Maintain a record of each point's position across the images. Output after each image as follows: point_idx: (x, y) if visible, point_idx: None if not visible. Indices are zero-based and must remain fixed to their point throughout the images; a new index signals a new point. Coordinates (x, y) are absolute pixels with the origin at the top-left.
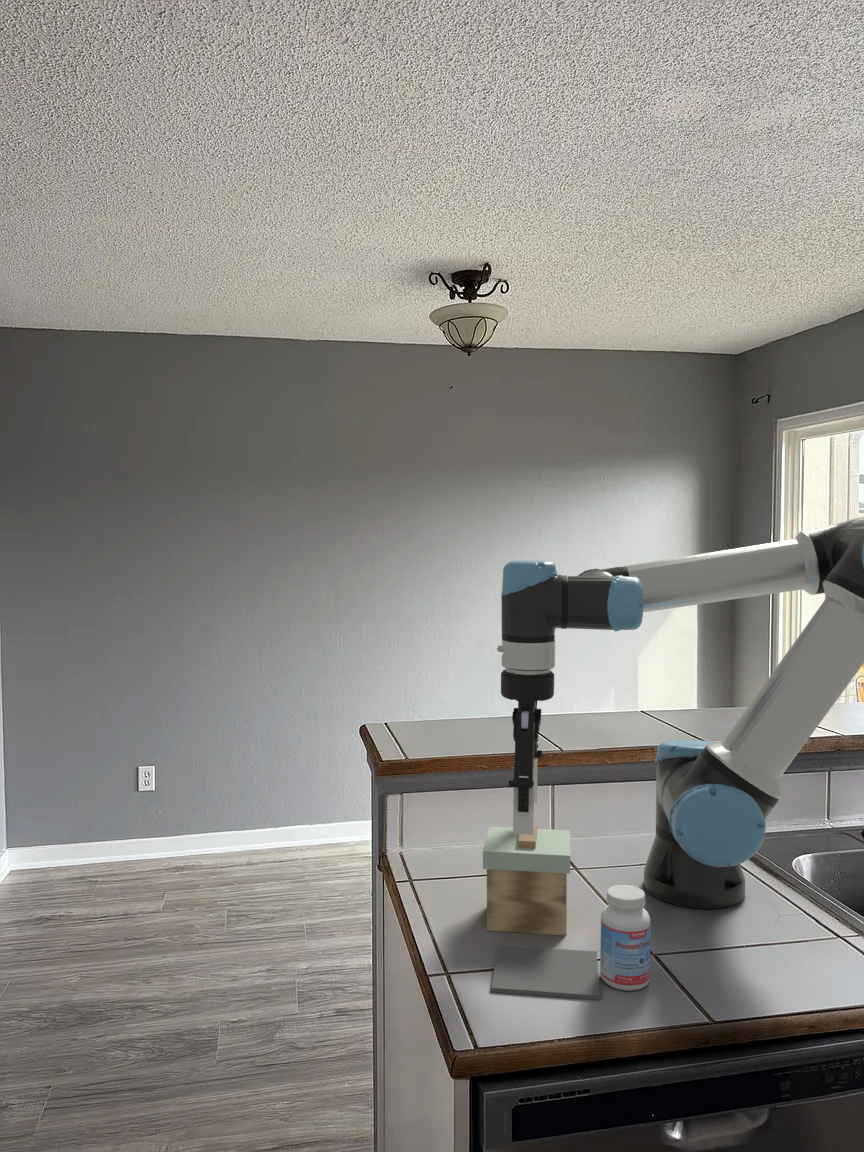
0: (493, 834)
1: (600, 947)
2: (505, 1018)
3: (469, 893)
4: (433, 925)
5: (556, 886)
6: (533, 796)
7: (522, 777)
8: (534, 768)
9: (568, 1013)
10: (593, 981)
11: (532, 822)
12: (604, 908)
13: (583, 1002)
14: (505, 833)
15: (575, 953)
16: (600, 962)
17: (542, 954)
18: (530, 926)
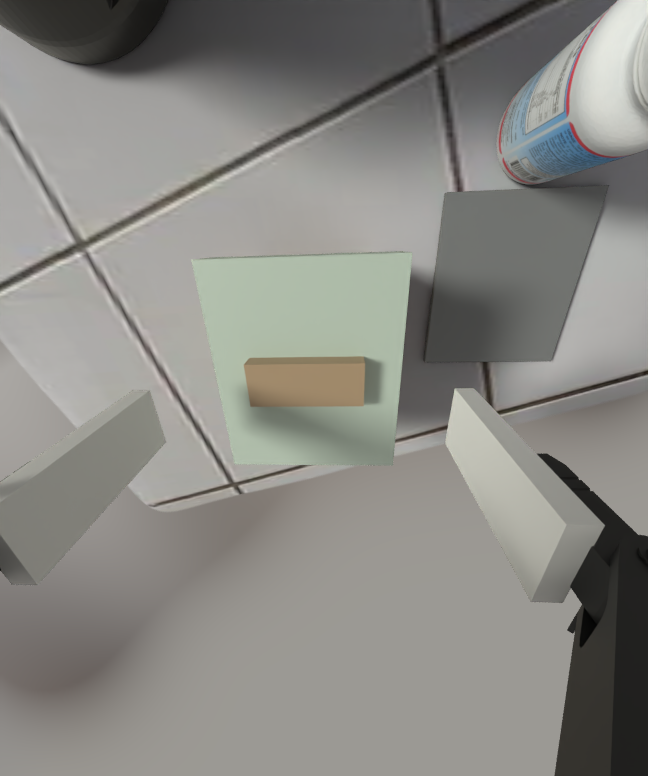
0: (283, 453)
1: (563, 174)
2: (621, 334)
3: None
4: None
5: None
6: (562, 482)
7: (104, 495)
8: (42, 487)
9: (631, 242)
10: (557, 198)
11: (494, 411)
12: (633, 137)
13: (603, 217)
14: (269, 430)
15: (454, 235)
16: (551, 179)
17: (457, 294)
18: None
